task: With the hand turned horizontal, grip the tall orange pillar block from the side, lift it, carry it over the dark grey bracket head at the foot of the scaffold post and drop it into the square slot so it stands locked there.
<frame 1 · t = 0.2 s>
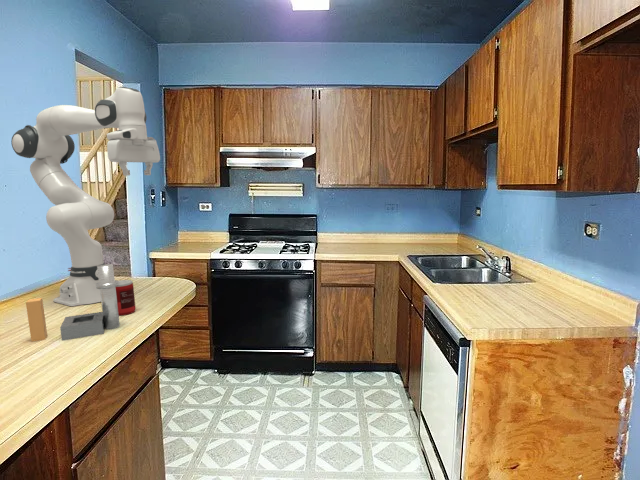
hand: (137, 175, 149), 48 cm above the counter, tool pointing down, fingers open, 8 cm apart
canned food: (123, 313, 149), on the counter
bracket head: (84, 331, 131), on the counter
tall orange pillar block: (39, 338, 126), on the counter
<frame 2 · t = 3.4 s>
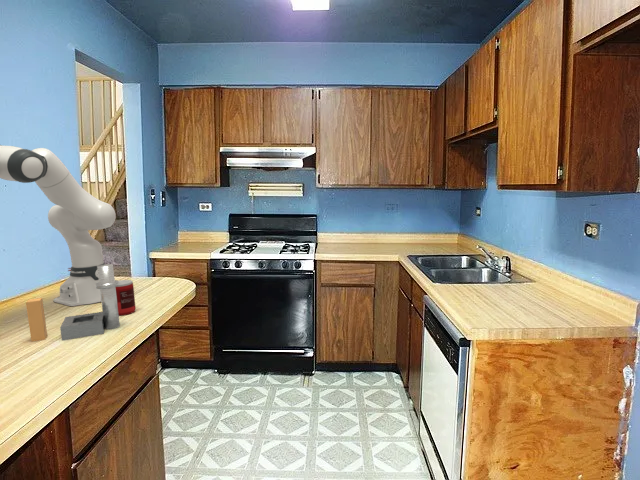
nothing on the counter moved.
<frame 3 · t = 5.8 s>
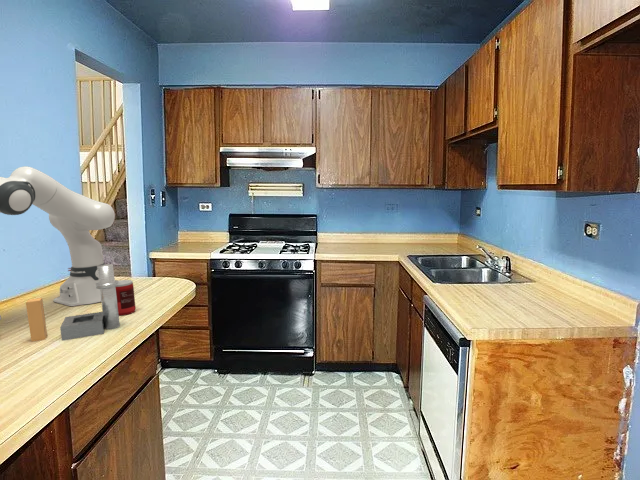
nothing on the counter moved.
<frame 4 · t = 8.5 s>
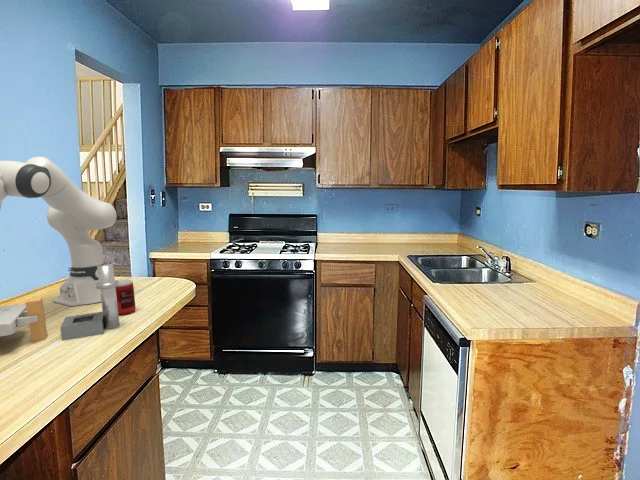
hand: (39, 315, 126), 7 cm above the counter, tool horizontal, fingers closed on tall orange pillar block, 3 cm apart
tall orange pillar block: (39, 338, 126), on the counter, touching gripper
everything else where it was.
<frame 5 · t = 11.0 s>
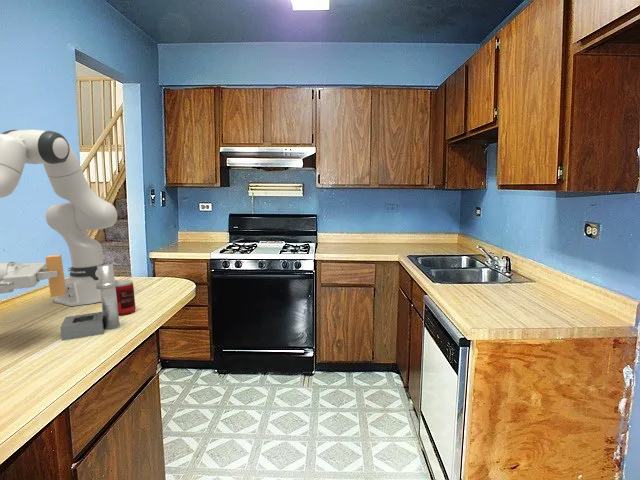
hand: (59, 271, 127), 20 cm above the counter, tool horizontal, fingers closed on tall orange pillar block, 3 cm apart
tall orange pillar block: (58, 294, 127), point 13 cm above the counter, touching gripper
everything else where it was.
when the fingers open (9 cm above the counter, at t = 14.0 s): tall orange pillar block drops 2 cm, resting in bracket head.
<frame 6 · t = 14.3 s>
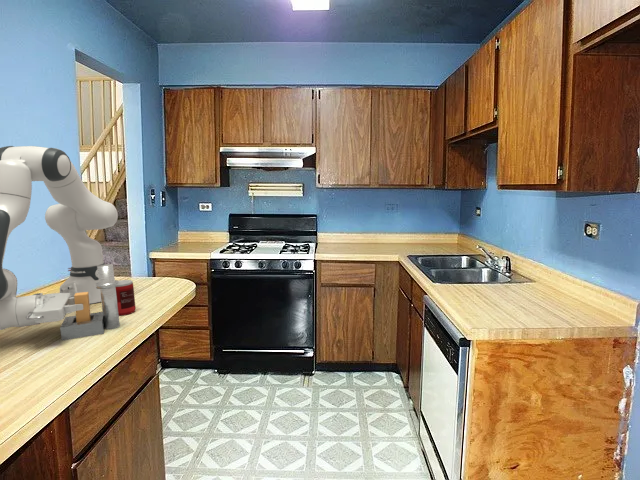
hand: (84, 303, 130), 9 cm above the counter, tool horizontal, fingers open, 6 cm apart
tall orange pillar block: (84, 331, 131), resting in bracket head
everything else where it was.
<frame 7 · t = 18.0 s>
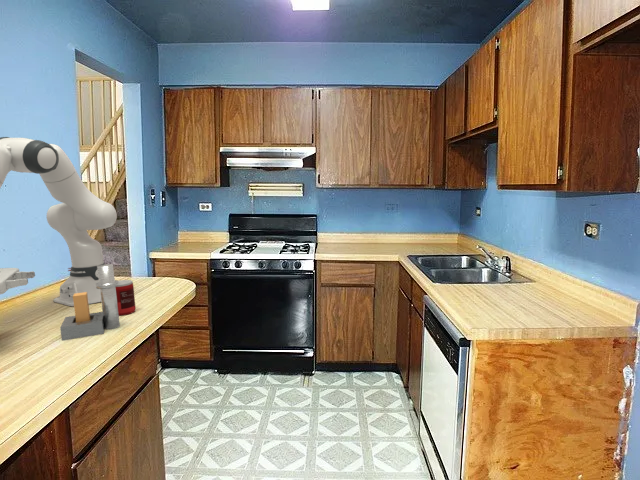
hand: (31, 277, 124), 19 cm above the counter, tool horizontal, fingers open, 8 cm apart
nothing on the counter moved.
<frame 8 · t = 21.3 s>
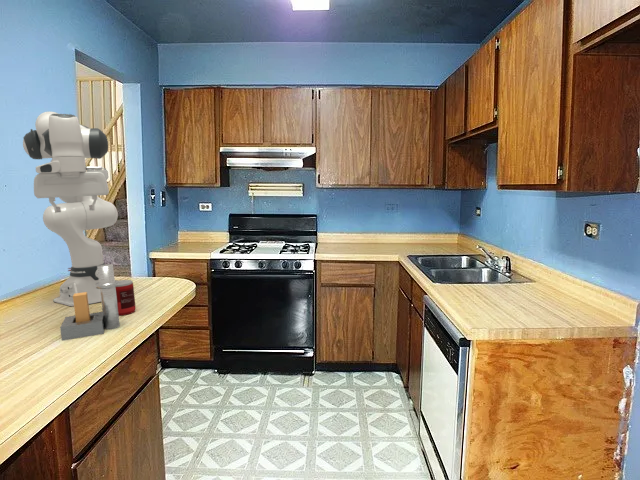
hand: (75, 211, 133), 37 cm above the counter, tool pointing down, fingers open, 8 cm apart
nothing on the counter moved.
at the end: tall orange pillar block 0.1 cm off-centre on the bracket head, point 0.0 cm above the bracket head's base; tall orange pillar block tilted 0°; the gripper is holding nothing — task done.
